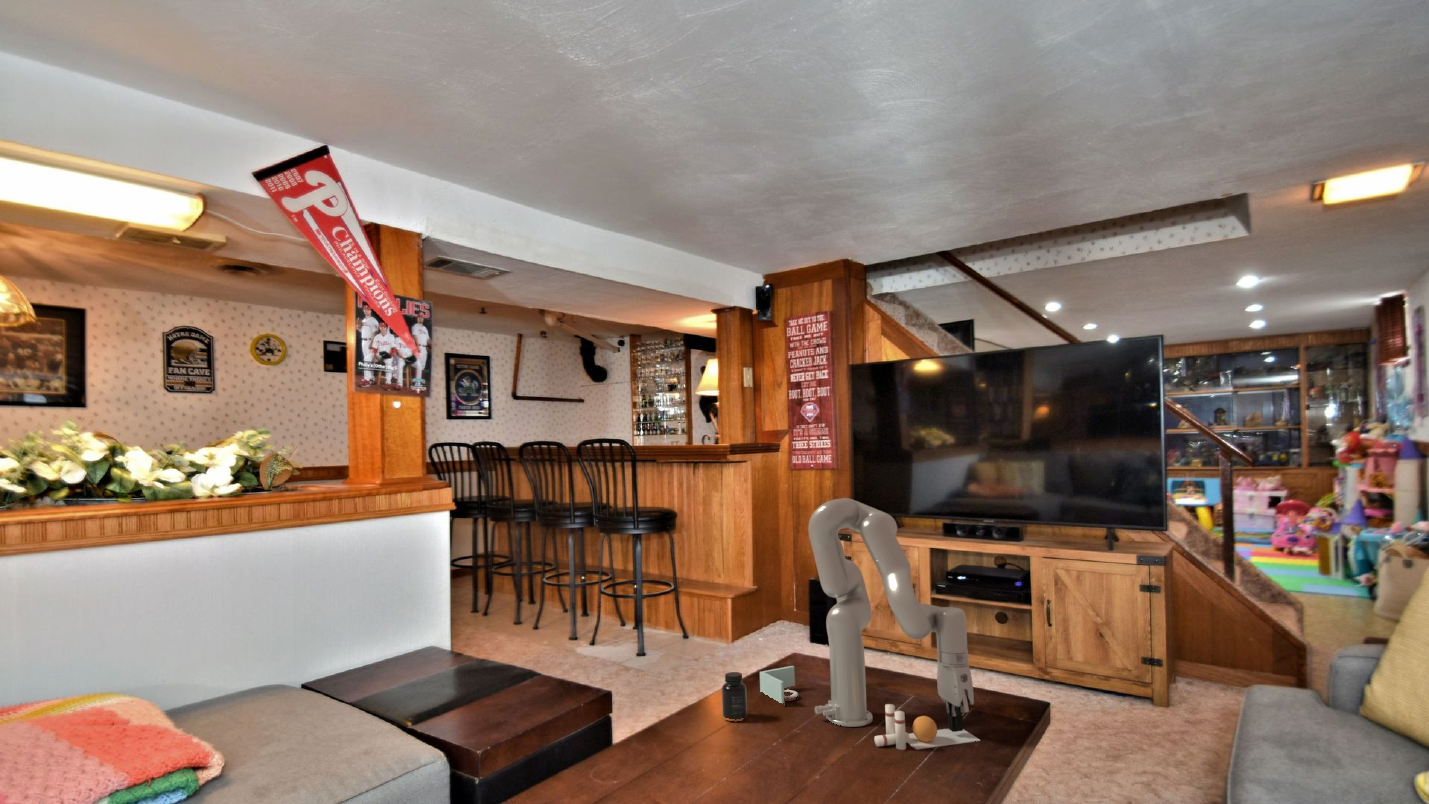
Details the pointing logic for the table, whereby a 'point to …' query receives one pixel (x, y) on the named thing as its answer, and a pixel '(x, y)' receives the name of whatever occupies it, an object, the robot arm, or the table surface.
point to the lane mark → (943, 739)
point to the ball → (924, 728)
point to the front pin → (888, 739)
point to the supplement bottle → (734, 696)
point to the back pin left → (890, 718)
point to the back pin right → (900, 730)
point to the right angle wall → (778, 683)
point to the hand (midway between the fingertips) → (955, 729)
